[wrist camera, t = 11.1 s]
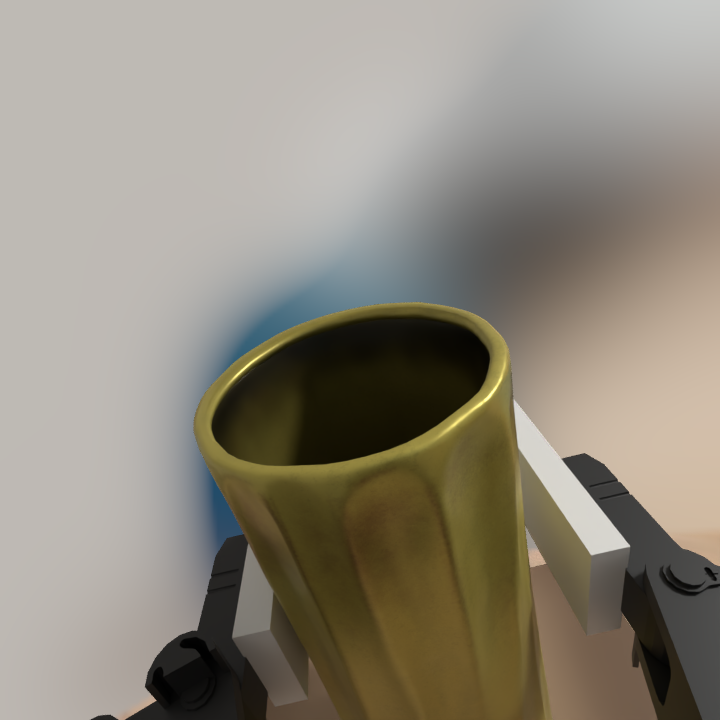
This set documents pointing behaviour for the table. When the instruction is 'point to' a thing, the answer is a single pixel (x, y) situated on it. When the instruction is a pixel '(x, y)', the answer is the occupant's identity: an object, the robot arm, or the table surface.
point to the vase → (387, 508)
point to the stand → (546, 668)
